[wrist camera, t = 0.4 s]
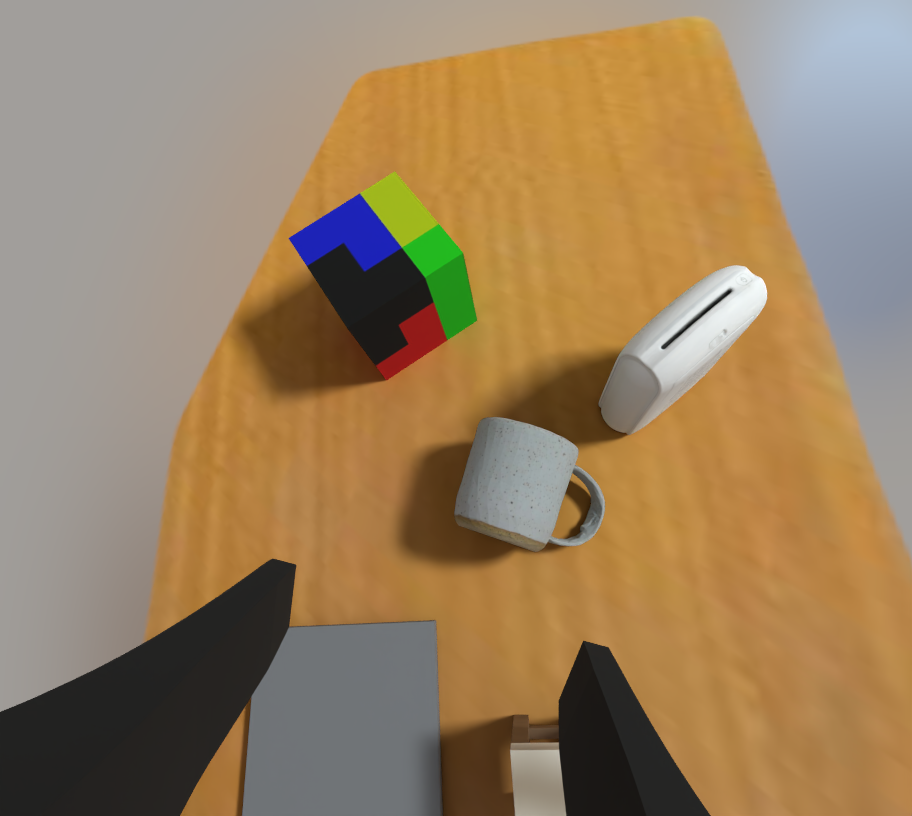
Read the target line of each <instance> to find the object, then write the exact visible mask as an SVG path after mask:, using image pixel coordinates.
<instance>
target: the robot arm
mask: <svg viewBox="0 0 912 816" xmlns="http://www.w3.org/2000/svg"><path fill="white" fill-rule="evenodd" d="M295 571H296V565H295V564H291V563H288V562H284V561H280V560H276V559H271V560H269V561H267V562H266V563H265V564H263V565H262V566H260V567H259V568H258V569H256V570H255V571H254V572H252V573H251V574H249V575H248V576H247V577H245V578H244V579H242V580H241V581H240V582H238V583H237V584H235V585H234V586H232V587H231V588H230V589H228V590H227V591H225V592H224V593H222V594H221V595H220V596H218V597H217V598H215V599H214V600H212V601H211V602H209V603H208V604H206V605H205V606H203V607H202V608H200V609H199V610H197V611H196V612H194V613H193V614H191V615H189V616H188V617H186V618H185V619H183V620H181V621H180V622H178V623H176V624H175V625H173V626H172V627H170V628H168V629H167V630H165V631H163V632H162V633H160V634H158V635H157V636H155V637H154V638H152V639H150V640H148V641H147V642H145V643H143V644H141V645H140V646H138V647H136V648H134V649H133V650H131V651H129V652H127V653H125V654H124V655H122V656H120V657H118V658H116V659H114V660H112V661H110V662H109V663H107V664H104V665H103V666H101V667H99V668H97V669H95V670H93V671H91V672H89V673H86V674H84V675H83V676H80V677H78V678H76V679H74V680H72V681H70V682H68V683H66V684H64V685H61V686H59V687H57V688H55V689H53V690H50V691H48V692H46V693H44V694H42V695H40V696H37V697H35V698H33V699H31V700H28V701H26V702H24V703H21V704H19V705H16V706H14V707H11V708H9V709H6V710H4V711H2V712H0V816H180V815H181V813H182V811H183V809H184V807H185V805H186V803H187V801H188V799H189V798H190V796H191V794H192V792H193V790H194V788H195V786H196V785H197V783H198V781H199V779H200V778H201V776H202V774H203V773H204V771H205V769H206V768H207V766H208V764H209V763H210V761H211V759H212V758H213V756H214V755H215V753H216V752H217V750H218V748H219V747H220V745H221V744H222V742H223V740H224V739H225V737H226V736H227V734H228V733H229V731H230V729H231V728H232V726H233V725H234V723H235V722H236V720H237V718H238V717H239V715H240V714H241V712H242V711H243V709H244V707H245V706H246V704H247V703H248V701H249V699H250V698H251V696H252V695H253V693H254V691H255V690H256V688H257V687H258V685H259V684H260V682H261V680H262V679H263V677H264V675H265V674H266V672H267V671H268V669H269V667H270V665H271V663H272V661H273V659H274V657H275V655H276V653H277V651H278V649H279V647H280V645H281V643H282V641H283V639H284V637H285V635H286V633H287V630H288V628H289V622H290V614H291V605H292V596H293V588H294V579H295ZM559 754H560V764H561V773H562V782H563V791H564V800H565V809H566V816H711V815H710V814H709V813H708V811H707V810H706V808H705V807H704V806H703V804H702V803H701V801H700V800H699V798H698V797H697V795H696V794H695V792H694V791H693V789H692V788H691V786H690V785H689V783H688V782H687V780H686V779H685V777H684V776H683V774H682V773H681V771H680V770H679V768H678V767H677V765H676V763H675V762H674V760H673V759H672V757H671V755H670V754H669V752H668V751H667V749H666V747H665V746H664V744H663V742H662V741H661V739H660V737H659V736H658V734H657V732H656V731H655V729H654V727H653V726H652V724H651V722H650V721H649V719H648V717H647V715H646V714H645V712H644V710H643V708H642V707H641V705H640V703H639V701H638V700H637V698H636V696H635V694H634V692H633V691H632V689H631V687H630V685H629V683H628V682H627V680H626V678H625V676H624V674H623V673H622V671H621V669H620V667H619V665H618V664H617V662H616V660H615V658H614V656H613V655H612V653H611V651H610V649H609V648H608V647H605V646H601V645H597V644H594V643H590V642H586V641H583V643H582V645H581V648H580V650H579V653H578V655H577V657H576V660H575V662H574V665H573V667H572V670H571V672H570V674H569V677H568V679H567V682H566V684H565V687H564V689H563V692H562V694H561V696H560V699H559Z"/></svg>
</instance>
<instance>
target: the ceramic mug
mask: <svg viewBox="0 0 912 816" xmlns="http://www.w3.org/2000/svg"><path fill="white" fill-rule="evenodd" d="M577 457H578V449H577V447H576V446H575V445H574V444H573V443H572V442H570V441H568V440H567V439H565V438H563V437H561V436H559V435H557V434H555V433H553V432H551V431H548V430H545V429H543V428H540V427H537V426H534V425H531V424H527V423H523V422H519V421H515V420H511V419H506V418H500V417H491V418H484V419H482V420H481V421H480V422H479V424H478V428H477V431H476V435H475V439H474V442H473V445H472V448H471V451H470V454H469V458H468V461H467V465H466V468H465V472H464V476H463V479H462V482H461V485H460V488H459V491H458V494H457V499H456V506H455V512H454V517H455V521H456V522H457V524H458V525H459V526H461V527H464V528H467V529H470V530H473V531H476V532H479V533H482V534H485V535H487V536H490V537H493V538H496V539H499V540H502V541H505V542H508V543H511V544H513V545H517V546H520V547H522V548H525V549H528V550H531V551H533V552H537V551H540V550H541V549H543V548H544V547H545V546H546V544H547V542H549V543H553V544H557V545H562V546H577V545H581V544H583V543H585V542H587V541H588V540H589V539H591V538H592V537H593V536H594V535H595V533H596V532H597V530H598V529H599V527H600V525H601V522H602V519H603V516H604V511H605V501H604V497H603V494H602V491H601V489H600V487H599V486H598V484H597V483H596V481H595V480H594V479H593V478H592V477H591V476H590V475H589V474H588V473H587V472H586V471H584V470H583V469H581V468H580V467H578V466H576V465H575V463H576V460H577ZM572 473H573V474H574V475H576V476H577V477H578V478H579V479H580V480H581V481H582V482H583V483H584V484H585V485H586V487H587V488H588V490H589V492H590V495H591V506H590V509H589V512H588V514H587V517H586V520H585V522H584V523H583V525H581V526H580V533H579V534H577V535H576V536H574V537H571V538H569V539H557V538H553V537H552V536H551V535H552V532H553V530H554V527H555V524H556V521H557V517H558V514H559V510H560V507H561V504H562V501H563V498H564V495H565V492H566V490H567V487H568V484H569V481H570V478H571V475H572Z"/></svg>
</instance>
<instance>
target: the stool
mask: <svg viewBox="0 0 912 816" xmlns="http://www.w3.org/2000/svg"><path fill="white" fill-rule="evenodd" d="M530 739H559V725H529V718H528V715H514V719H513V728H512V738H511V747H510V754H511V767H512V780H513V794H514V807H515V816H566V809H565V800H564V791H563V782H562V773H561V764H560V754H559V743H530Z"/></svg>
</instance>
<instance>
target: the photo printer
mask: <svg viewBox="0 0 912 816" xmlns="http://www.w3.org/2000/svg"><path fill="white" fill-rule="evenodd" d="M766 300H767V290H766V286H765V283H764V281H763V280H762V279H761V278H760V277H758V276H755V275H754V274H752V273H751V272H750V271H749V270H748V269H747V268H746V267H743V266H728V267H726V268H723V269H720V270H718V271H716V272H714V273H712V274H710V275H708V276H707V277H705V278H703V279H702V280H700V281H699V282H698V283H696V284H695V285H693V286H692V287H691V288H689V289H688V290H687V291H685V292H684V293H683V294H681V295H680V296H679V297H678V298H676V299H675V300H674V301H673V302H672V303H670V304H669V305H668V306H667V307H666V308H664V309H663V310H662V311H661V312H660V313H659V314H657V315H656V316H655V317H654V318H653V319H652V320H651V321H650V322H649V323H647V324H646V325H645V326H644V327H643V328H642V329H641V330H640V331H639V332H638V333H637V334H636V335H635V336H634V337H633V338H632V339H631V340H630V341H629V342H628V343H627V345H626V346H625V347H624V349H623V350H622V351H621V353H620V354H619V356H618V358H617V360H616V362H615V364H614V367H613V369H612V371H611V374H610V376H609V378H608V381H607V383H606V385H605V388H604V390H603V393H602V395H601V397H600V400H599V403H598V405H599V407H601V413H602V416H603V419H604V420H605V422H606V423H607V424H608V425H609V426H610V427H611V428H613V429H614V430H616V431H619V432H623V433H625V432H626V433H627V434H628V435H630V434H632V433H635V432H636V431H638V430H640V429H641V428H643V427H644V426H646V425H647V424H648V423H650V422H651V421H652V420H653V419H655V418H656V417H657V416H658V415H660V414H661V413H662V412H663V411H664V410H666V409H667V408H668V407H669V406H670V405H672V404H673V403H674V402H675V401H676V400H678V399H679V398H680V397H681V396H682V395H683V394H685V393H686V392H687V391H688V390H689V389H690V388H691V387H692V386H694V385H695V384H696V383H697V382H698V381H699V380H700V379H701V378H702V377H704V376H705V374H706V373H707V372H708V371H709V370H710V369H711V368H712V367H713V366H714V364H715V363H716V362H717V361H718V360H719V359H720V358H721V357H722V355H723V354H724V353H725V352H726V351H727V350H728V349H729V348H730V346H731V345H732V344H733V343H734V342H735V341H736V340H737V339H738V337H739V336H740V335H741V334H742V333H743V332H744V331H745V330H746V329H747V328H748V326H749V325H750V324H751V323H752V322H753V321H754V320H755V318H756V317H757V316H758V315H759V313H760V312H761V310H762V309H763V307H764V305H765V303H766Z"/></svg>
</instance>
